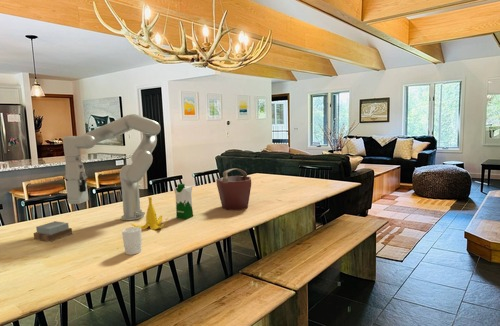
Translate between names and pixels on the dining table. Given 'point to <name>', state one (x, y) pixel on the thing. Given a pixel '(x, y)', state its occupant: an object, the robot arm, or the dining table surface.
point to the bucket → (234, 190)
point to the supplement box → (75, 192)
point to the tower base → (52, 237)
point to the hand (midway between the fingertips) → (77, 191)
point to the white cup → (132, 240)
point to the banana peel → (151, 218)
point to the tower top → (52, 228)
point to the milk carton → (183, 201)
